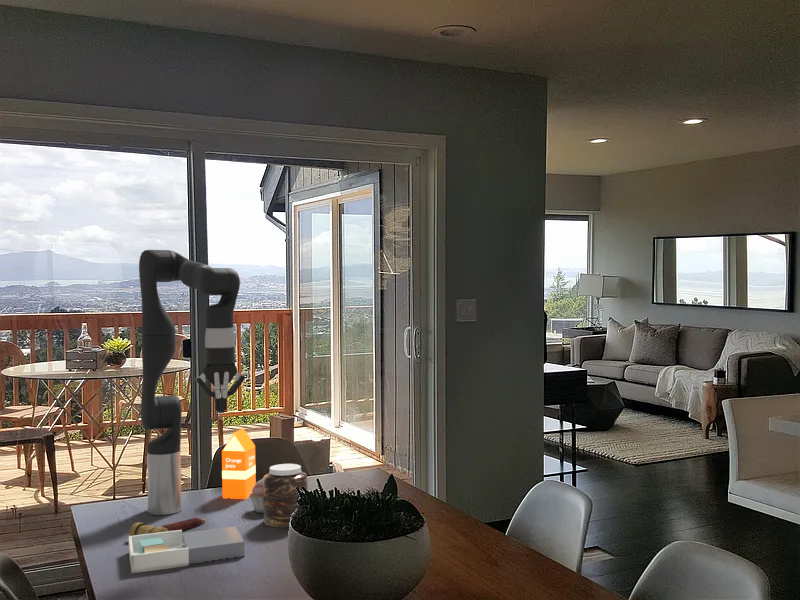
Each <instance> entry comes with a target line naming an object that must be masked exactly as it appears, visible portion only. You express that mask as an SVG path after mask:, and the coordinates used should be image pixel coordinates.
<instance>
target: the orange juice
mask: <svg viewBox="0 0 800 600" xmlns="http://www.w3.org/2000/svg"><path fill="white" fill-rule="evenodd" d="M256 465H257V464H256V444H255V443H254V442H253V440H252V439H251V437H250V436H249V434H248V432H247V431H246V430H245V428H241V429H240V430H237V431H235V432H234V433H233V434H232V435H231V437H230V438H229V440H228V441H227V443H226V445H225V446H224V448H223V449H222V450H221V478H222V479H221V480H222V481H221V483H222V484H221V486H222V499H227V498H230V499H233V500H247V499H248V498H250V493H252V488H253V487H254V486H255V483H257V480H256V476H257V475H256V473H257V472H256V471H257V470H256Z"/></svg>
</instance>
